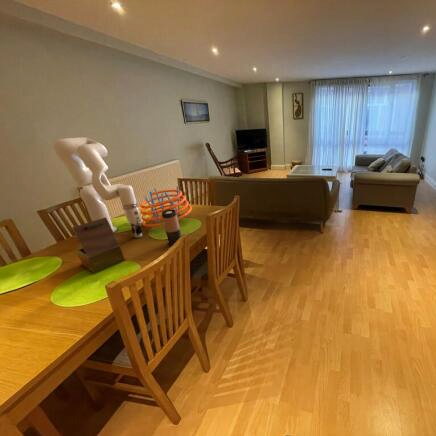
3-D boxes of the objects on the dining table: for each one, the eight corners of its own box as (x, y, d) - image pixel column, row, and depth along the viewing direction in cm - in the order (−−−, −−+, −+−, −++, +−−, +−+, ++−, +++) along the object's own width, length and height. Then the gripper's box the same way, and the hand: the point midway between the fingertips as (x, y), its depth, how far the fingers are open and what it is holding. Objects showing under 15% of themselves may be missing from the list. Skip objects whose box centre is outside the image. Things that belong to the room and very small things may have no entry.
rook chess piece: (137, 234, 155) (133, 223, 152) (144, 234, 155) (141, 223, 152) (133, 238, 151) (129, 226, 148) (140, 237, 151) (137, 226, 148)
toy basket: (161, 235, 156) (147, 201, 146) (134, 227, 175) (120, 197, 165) (203, 214, 182) (194, 184, 172) (176, 209, 200) (166, 181, 190)
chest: (82, 264, 124) (76, 250, 120) (111, 253, 134) (106, 239, 131) (94, 273, 117) (88, 258, 113) (124, 260, 127) (119, 245, 124)
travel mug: (185, 240, 147) (178, 210, 139) (176, 246, 140) (168, 214, 132) (175, 238, 149) (168, 208, 141) (165, 244, 143) (158, 213, 135)
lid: (72, 227, 110) (75, 225, 107) (105, 217, 121) (109, 215, 118) (88, 257, 113) (91, 256, 110) (119, 245, 124) (123, 244, 121)
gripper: (143, 206, 144) (150, 233, 151) (129, 201, 152) (137, 227, 159) (130, 210, 138) (138, 238, 145) (116, 205, 146) (125, 232, 153)
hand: (137, 232), depth 152 cm, fingers closed on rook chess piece, 3 cm apart
